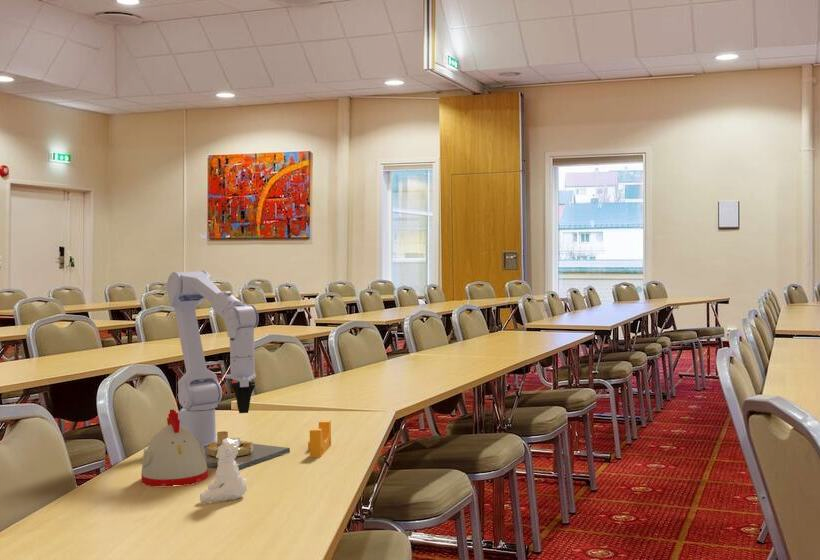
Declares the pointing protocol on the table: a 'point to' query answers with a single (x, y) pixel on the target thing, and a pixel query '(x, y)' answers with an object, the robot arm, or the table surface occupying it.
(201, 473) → the kitchen timer
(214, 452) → the ring nut
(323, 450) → the pipe clamp
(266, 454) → the housing
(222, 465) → the seated beast figurine
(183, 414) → the robot arm
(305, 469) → the table surface
